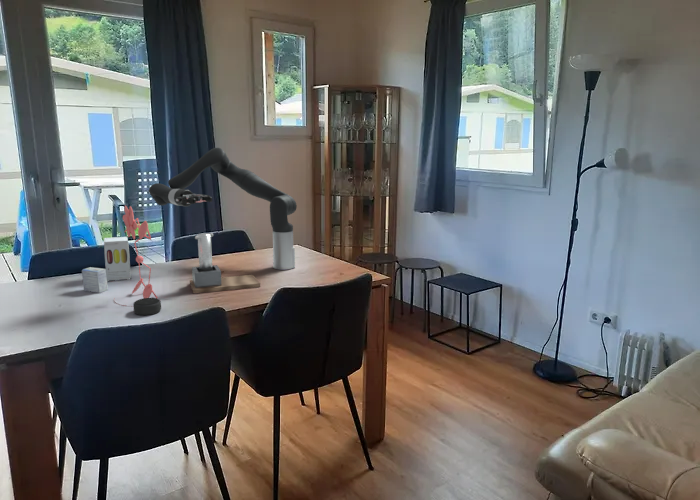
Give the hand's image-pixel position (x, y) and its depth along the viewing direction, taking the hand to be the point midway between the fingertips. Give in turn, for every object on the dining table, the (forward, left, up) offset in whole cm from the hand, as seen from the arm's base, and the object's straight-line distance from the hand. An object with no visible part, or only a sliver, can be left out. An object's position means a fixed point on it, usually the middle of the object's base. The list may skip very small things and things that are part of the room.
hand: (203, 200), depth 227 cm
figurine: (+30, +29, -32) cm, 53 cm away
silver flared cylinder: (+3, +23, -30) cm, 38 cm away
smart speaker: (+26, +46, -32) cm, 62 cm away
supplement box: (+36, -4, -32) cm, 48 cm away
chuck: (+3, +23, -30) cm, 39 cm away
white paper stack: (+44, +13, -32) cm, 56 cm away
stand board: (-4, +23, -32) cm, 40 cm away
